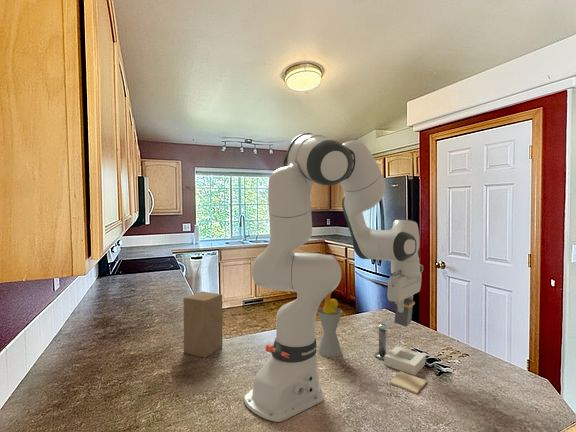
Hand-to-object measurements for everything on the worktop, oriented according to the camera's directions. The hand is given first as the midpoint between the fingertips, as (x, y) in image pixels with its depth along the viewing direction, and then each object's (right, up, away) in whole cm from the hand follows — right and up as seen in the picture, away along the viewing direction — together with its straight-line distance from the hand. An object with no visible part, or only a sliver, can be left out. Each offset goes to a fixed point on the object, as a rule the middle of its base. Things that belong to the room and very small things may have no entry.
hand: (404, 310), depth 103 cm
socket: (0, -18, 0) cm, 18 cm away
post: (-6, -18, +6) cm, 20 cm away
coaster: (-3, -18, -11) cm, 22 cm away
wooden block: (-70, -18, +11) cm, 73 cm away
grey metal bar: (-2, -8, +9) cm, 12 cm away
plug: (0, -5, +1) cm, 5 cm away
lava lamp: (-24, -18, +10) cm, 31 cm away
